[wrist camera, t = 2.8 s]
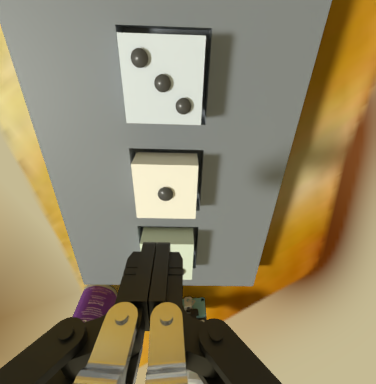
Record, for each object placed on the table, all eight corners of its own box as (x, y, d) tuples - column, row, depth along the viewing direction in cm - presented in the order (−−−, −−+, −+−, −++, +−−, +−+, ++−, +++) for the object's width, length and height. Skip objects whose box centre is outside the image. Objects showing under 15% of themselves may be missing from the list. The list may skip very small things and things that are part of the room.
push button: (165, 313, 36) (158, 396, 27) (159, 292, 33) (150, 377, 24) (208, 311, 35) (215, 393, 27) (206, 289, 32) (213, 373, 24)
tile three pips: (126, 35, 15) (115, 32, 13) (203, 37, 15) (206, 35, 13) (133, 114, 17) (125, 123, 15) (198, 116, 18) (201, 125, 15)
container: (111, 280, 31) (60, 439, 18) (121, 301, 34) (82, 454, 21) (78, 284, 32) (6, 442, 19) (91, 304, 34) (34, 456, 21)
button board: (12, -32, 15) (-23, -49, 12) (315, -19, 15) (341, -33, 13) (92, 264, 30) (84, 284, 27) (247, 266, 30) (252, 286, 27)
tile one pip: (136, 152, 19) (130, 165, 17) (197, 153, 19) (198, 166, 17) (141, 202, 22) (136, 219, 19) (194, 203, 22) (195, 220, 19)
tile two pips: (143, 226, 23) (139, 245, 21) (193, 227, 23) (193, 245, 21) (146, 261, 26) (143, 280, 24) (191, 261, 26) (191, 281, 24)
